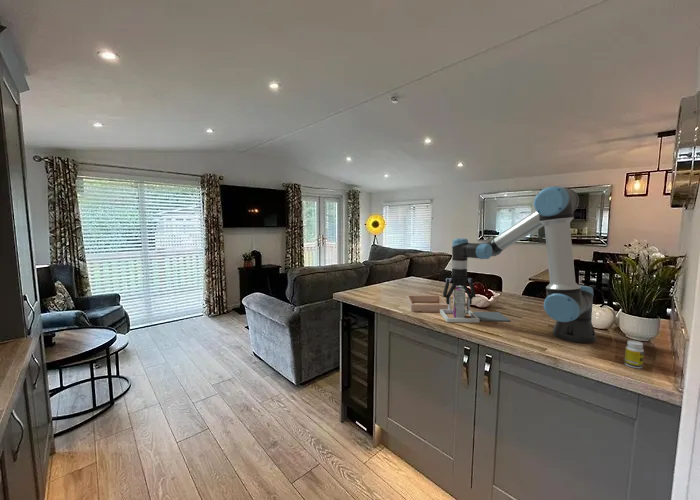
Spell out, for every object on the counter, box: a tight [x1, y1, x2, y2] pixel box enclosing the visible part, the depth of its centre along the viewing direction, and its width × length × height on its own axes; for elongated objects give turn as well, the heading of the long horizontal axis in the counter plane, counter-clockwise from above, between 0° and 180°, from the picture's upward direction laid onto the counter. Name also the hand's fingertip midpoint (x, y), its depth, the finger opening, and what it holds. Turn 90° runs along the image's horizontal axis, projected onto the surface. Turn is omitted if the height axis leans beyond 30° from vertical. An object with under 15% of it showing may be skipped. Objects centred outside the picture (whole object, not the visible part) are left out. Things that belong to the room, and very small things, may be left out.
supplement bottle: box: [624, 339, 645, 370], centre depth 107 cm, size 5×5×8 cm
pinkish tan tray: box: [406, 294, 448, 313], centre depth 184 cm, size 22×21×4 cm
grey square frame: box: [439, 308, 480, 323], centre depth 163 cm, size 16×16×2 cm
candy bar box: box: [452, 286, 466, 318], centre depth 162 cm, size 11×5×16 cm, turn 168°
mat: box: [472, 311, 511, 322], centre depth 163 cm, size 14×14×1 cm
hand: (458, 310), depth 162 cm, fingers open, 9 cm apart
